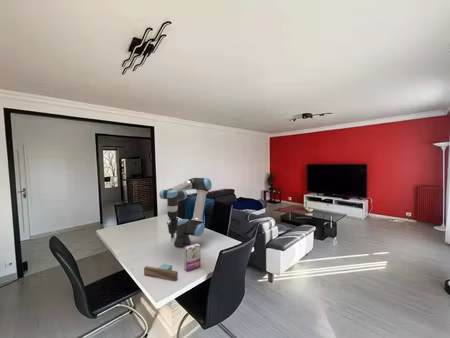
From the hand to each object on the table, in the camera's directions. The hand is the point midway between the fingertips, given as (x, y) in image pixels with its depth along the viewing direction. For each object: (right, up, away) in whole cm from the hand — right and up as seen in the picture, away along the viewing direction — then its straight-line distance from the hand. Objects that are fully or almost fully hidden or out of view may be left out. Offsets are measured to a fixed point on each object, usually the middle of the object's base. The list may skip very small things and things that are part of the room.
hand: (173, 241), depth 152 cm
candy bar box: (+15, -17, -7) cm, 24 cm away
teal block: (-2, -17, -13) cm, 22 cm away
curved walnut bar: (-4, -17, -18) cm, 25 cm away
